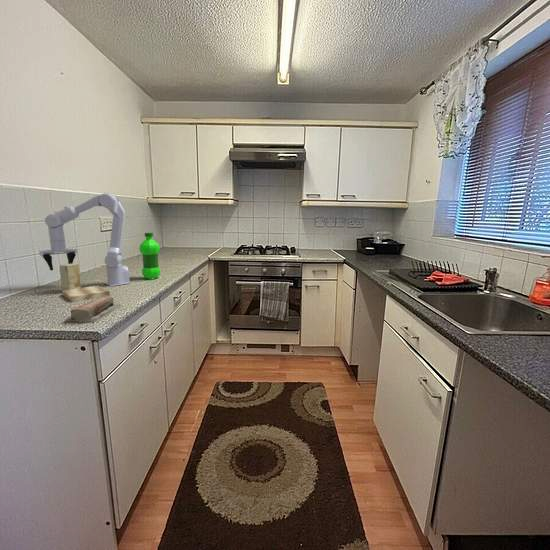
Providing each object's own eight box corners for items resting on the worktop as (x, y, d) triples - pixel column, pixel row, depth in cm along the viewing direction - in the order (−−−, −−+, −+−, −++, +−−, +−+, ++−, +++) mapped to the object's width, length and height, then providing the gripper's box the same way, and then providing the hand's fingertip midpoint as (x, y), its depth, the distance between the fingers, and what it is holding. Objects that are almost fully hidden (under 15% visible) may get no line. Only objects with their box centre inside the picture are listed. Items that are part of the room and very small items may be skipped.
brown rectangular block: (93, 309, 96) (62, 309, 96) (95, 323, 97) (64, 323, 97) (120, 294, 114) (94, 294, 114) (121, 306, 115) (95, 306, 115)
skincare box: (70, 292, 132) (66, 265, 129) (61, 292, 132) (58, 265, 130) (82, 289, 138) (79, 263, 135) (74, 288, 139) (71, 263, 136)
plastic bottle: (149, 281, 157) (146, 233, 152) (137, 278, 162) (134, 232, 157) (165, 277, 165) (163, 233, 160) (153, 275, 170) (150, 232, 165)
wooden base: (98, 289, 138) (98, 285, 137) (109, 295, 129) (109, 290, 128) (62, 295, 127) (62, 290, 127) (72, 301, 118) (71, 297, 118)
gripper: (72, 239, 146) (75, 266, 149) (35, 240, 135) (40, 269, 138) (77, 240, 142) (80, 267, 145) (40, 242, 131) (44, 271, 133)
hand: (61, 269), depth 141 cm, fingers open, 7 cm apart
